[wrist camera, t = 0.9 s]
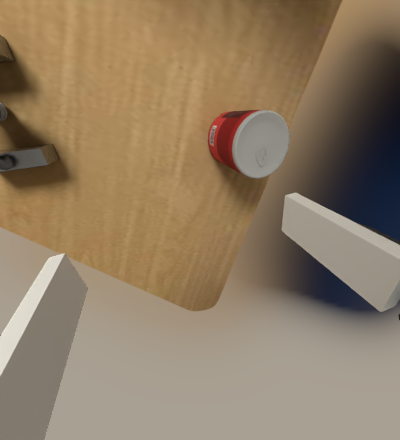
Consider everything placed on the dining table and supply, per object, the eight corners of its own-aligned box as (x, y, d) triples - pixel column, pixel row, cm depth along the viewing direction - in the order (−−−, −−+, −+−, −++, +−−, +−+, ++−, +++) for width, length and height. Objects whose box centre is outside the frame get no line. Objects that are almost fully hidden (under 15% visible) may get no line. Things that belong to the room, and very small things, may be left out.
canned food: (219, 170, 35) (248, 190, 26) (197, 129, 31) (223, 135, 21) (254, 146, 35) (297, 157, 25) (237, 101, 30) (280, 95, 21)
